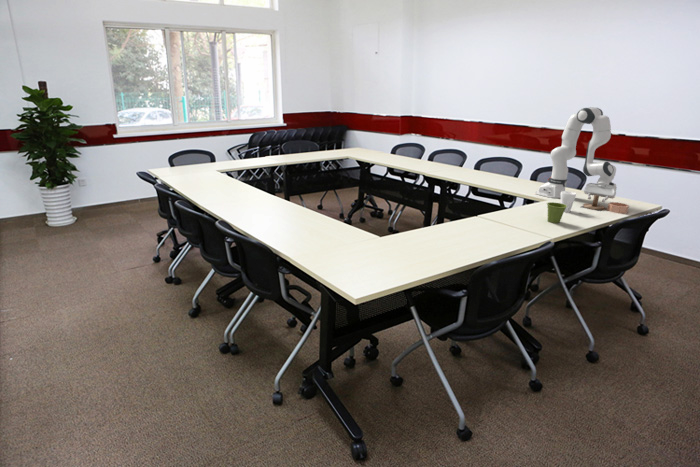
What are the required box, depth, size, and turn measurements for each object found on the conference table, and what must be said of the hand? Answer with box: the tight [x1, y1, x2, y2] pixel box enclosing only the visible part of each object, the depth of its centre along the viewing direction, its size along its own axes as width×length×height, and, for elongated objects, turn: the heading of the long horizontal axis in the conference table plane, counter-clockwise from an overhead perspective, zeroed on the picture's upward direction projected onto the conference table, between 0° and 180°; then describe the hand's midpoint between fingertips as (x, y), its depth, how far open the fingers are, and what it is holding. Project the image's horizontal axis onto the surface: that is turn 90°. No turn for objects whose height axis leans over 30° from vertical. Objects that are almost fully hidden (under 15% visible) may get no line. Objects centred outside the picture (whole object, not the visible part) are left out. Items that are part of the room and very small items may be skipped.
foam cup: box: [559, 190, 577, 213], centre depth 306 cm, size 10×9×13 cm
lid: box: [582, 195, 606, 211], centre depth 317 cm, size 14×14×9 cm
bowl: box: [606, 201, 630, 214], centre depth 311 cm, size 12×12×5 cm
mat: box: [580, 205, 607, 212], centre depth 318 cm, size 14×14×1 cm
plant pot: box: [546, 201, 567, 224], centre depth 281 cm, size 12×12×11 cm
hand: (596, 200), depth 316 cm, fingers open, 8 cm apart
